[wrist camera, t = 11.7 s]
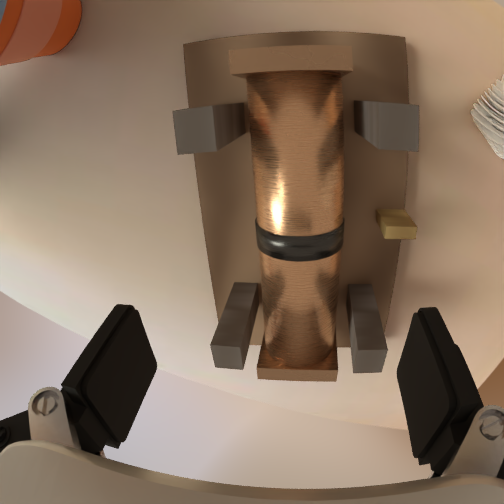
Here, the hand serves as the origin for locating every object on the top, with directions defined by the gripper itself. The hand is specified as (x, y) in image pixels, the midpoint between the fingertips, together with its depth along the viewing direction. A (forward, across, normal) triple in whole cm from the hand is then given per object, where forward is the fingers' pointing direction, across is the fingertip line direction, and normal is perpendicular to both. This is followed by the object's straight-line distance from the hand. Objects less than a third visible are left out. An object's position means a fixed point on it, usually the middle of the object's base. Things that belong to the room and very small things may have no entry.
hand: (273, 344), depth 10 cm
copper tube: (+12, -1, 0) cm, 13 cm away
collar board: (+14, -1, 0) cm, 14 cm away
